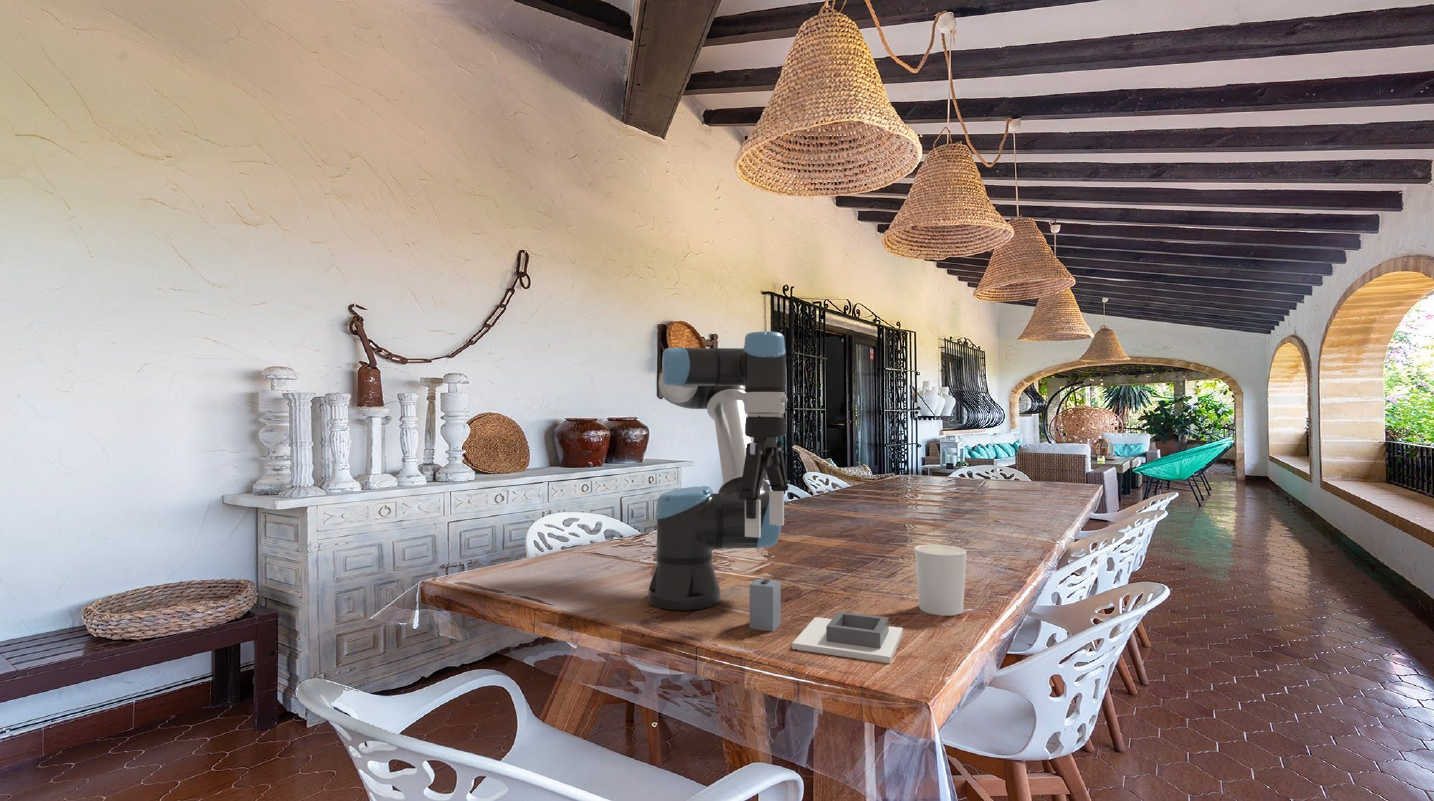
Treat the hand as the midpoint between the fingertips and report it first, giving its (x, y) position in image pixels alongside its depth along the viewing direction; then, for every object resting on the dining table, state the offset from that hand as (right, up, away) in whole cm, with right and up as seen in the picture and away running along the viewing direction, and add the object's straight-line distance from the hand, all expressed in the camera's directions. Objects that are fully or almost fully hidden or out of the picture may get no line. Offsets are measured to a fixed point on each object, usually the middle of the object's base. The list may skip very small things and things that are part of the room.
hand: (765, 530), depth 122 cm
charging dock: (+14, -17, -8) cm, 24 cm away
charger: (0, -18, 0) cm, 18 cm away
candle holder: (+36, -18, +10) cm, 41 cm away
